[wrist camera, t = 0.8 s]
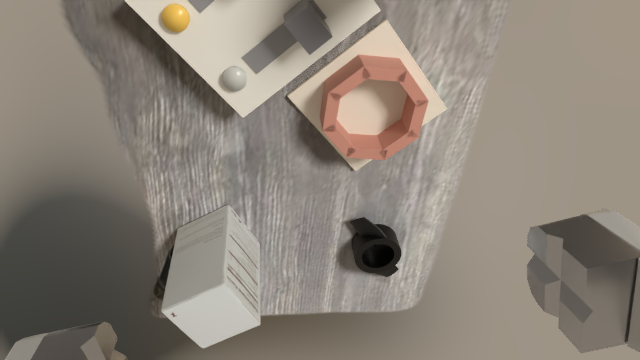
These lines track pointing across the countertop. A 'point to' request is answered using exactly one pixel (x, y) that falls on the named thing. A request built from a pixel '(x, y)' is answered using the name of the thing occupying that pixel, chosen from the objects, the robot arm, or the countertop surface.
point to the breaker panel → (246, 41)
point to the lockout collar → (369, 98)
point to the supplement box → (214, 278)
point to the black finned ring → (375, 247)
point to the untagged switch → (307, 26)
